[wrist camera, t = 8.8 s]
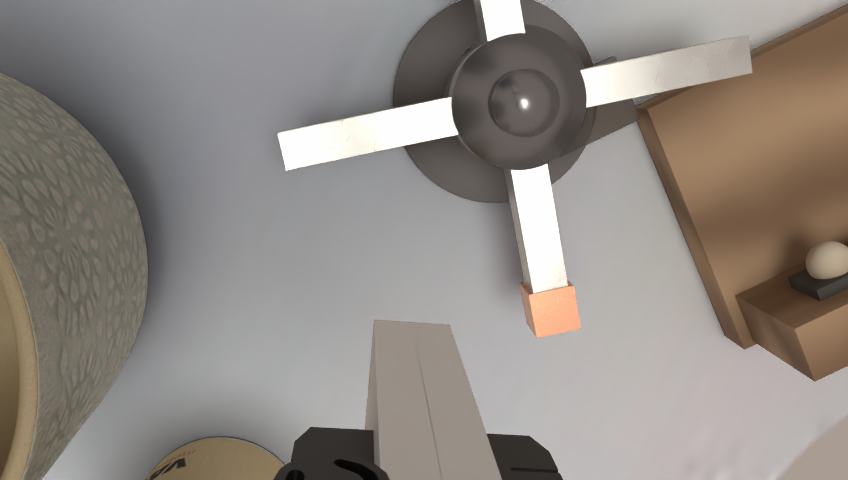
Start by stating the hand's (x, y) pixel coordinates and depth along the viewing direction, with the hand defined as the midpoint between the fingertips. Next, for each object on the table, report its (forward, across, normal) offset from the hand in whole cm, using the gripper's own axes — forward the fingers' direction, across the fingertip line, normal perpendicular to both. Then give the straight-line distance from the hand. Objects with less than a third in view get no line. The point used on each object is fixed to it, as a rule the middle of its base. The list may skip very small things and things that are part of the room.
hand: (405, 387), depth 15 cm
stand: (+20, +12, +4) cm, 24 cm away
